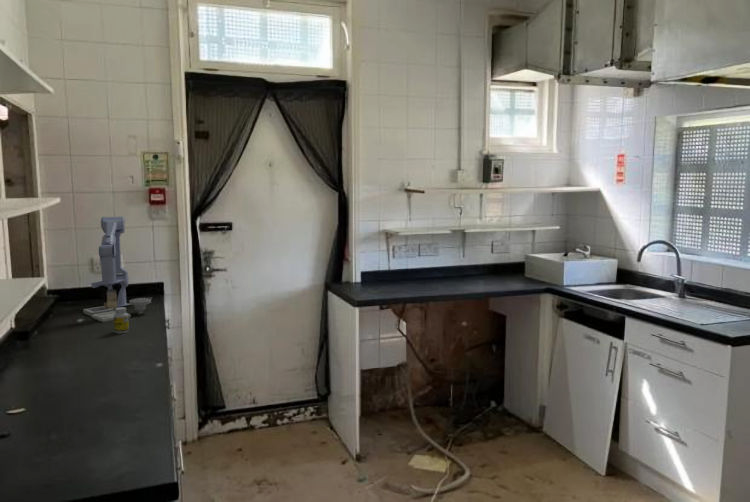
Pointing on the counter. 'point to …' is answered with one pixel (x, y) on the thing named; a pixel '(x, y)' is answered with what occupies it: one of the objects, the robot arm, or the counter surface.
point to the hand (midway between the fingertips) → (110, 301)
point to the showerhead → (140, 304)
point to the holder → (96, 310)
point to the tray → (106, 316)
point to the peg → (111, 299)
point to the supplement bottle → (121, 320)
